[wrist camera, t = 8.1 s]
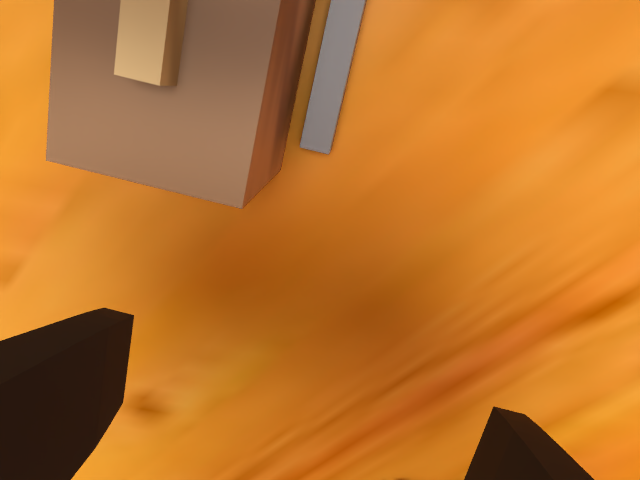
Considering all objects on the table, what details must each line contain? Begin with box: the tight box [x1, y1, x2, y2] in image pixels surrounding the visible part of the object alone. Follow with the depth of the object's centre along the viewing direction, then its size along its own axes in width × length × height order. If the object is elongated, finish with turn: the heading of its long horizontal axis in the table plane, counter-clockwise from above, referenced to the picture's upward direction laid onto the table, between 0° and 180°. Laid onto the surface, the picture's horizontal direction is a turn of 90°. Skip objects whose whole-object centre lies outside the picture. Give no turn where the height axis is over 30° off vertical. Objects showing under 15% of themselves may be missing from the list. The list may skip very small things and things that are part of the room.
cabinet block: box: [46, 0, 316, 209], centre depth 13 cm, size 8×5×7 cm, turn 167°
